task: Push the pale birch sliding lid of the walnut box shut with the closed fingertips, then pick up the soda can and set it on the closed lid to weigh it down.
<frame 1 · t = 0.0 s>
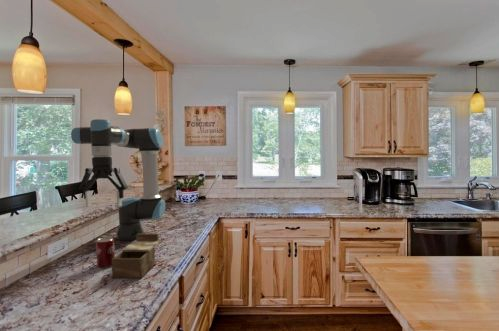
hand: (104, 206, 124), 28 cm above the countertop, fingers open, 13 cm apart
box: (134, 271, 124), on the countertop
soda can: (106, 266, 131), on the countertop
lid: (142, 242, 132), point 10 cm above the countertop, slide at 8.0 cm
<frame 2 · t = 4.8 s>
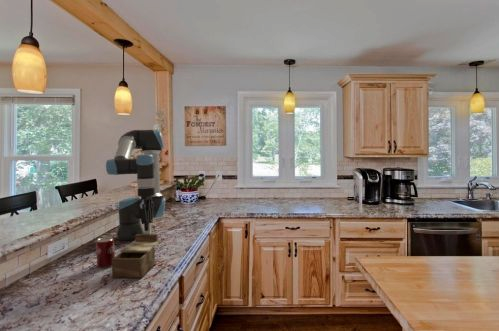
hand: (147, 236, 138), 11 cm above the countertop, fingers closed
lid: (141, 242, 131), point 10 cm above the countertop, slide at 6.9 cm, touching gripper
everything else where it was.
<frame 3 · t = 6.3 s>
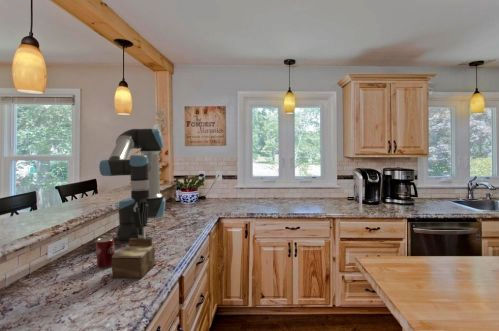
hand: (142, 241, 132), 10 cm above the countertop, fingers closed
lid: (134, 247, 124), point 10 cm above the countertop, slide at 0.5 cm, touching gripper
everything else where it was.
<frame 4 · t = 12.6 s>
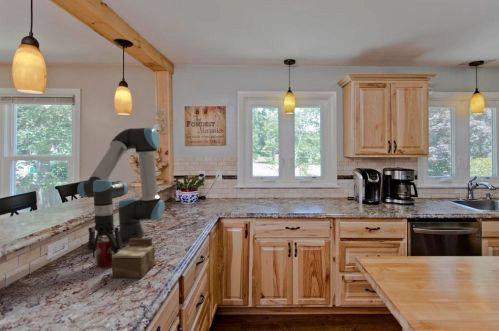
hand: (106, 264, 131), 1 cm above the countertop, fingers closed on soda can, 7 cm apart
soda can: (106, 266, 131), on the countertop, touching gripper
lid: (134, 247, 124), point 10 cm above the countertop, slide at 0.5 cm
when the fingers open (11 cm above the countertop, at t = 17.1 s): soda can drops 1 cm, resting on lid.
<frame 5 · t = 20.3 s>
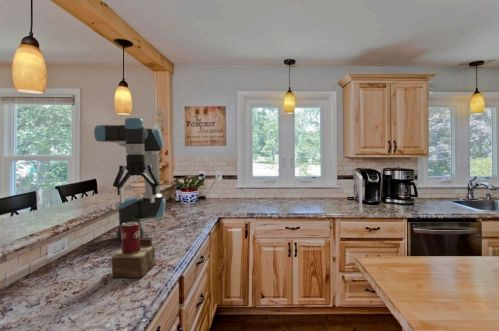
hand: (137, 202, 128), 29 cm above the countertop, fingers open, 13 cm apart
soda can: (131, 252, 122), point 9 cm above the countertop, touching lid
lid: (134, 247, 124), point 10 cm above the countertop, slide at 0.3 cm, touching soda can
at the end: lid slide at 0.3 cm; soda can inside the target area on the lid (2.0 cm from its centre), point 9.0 cm above the lid's base; soda can tilted 0° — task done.
